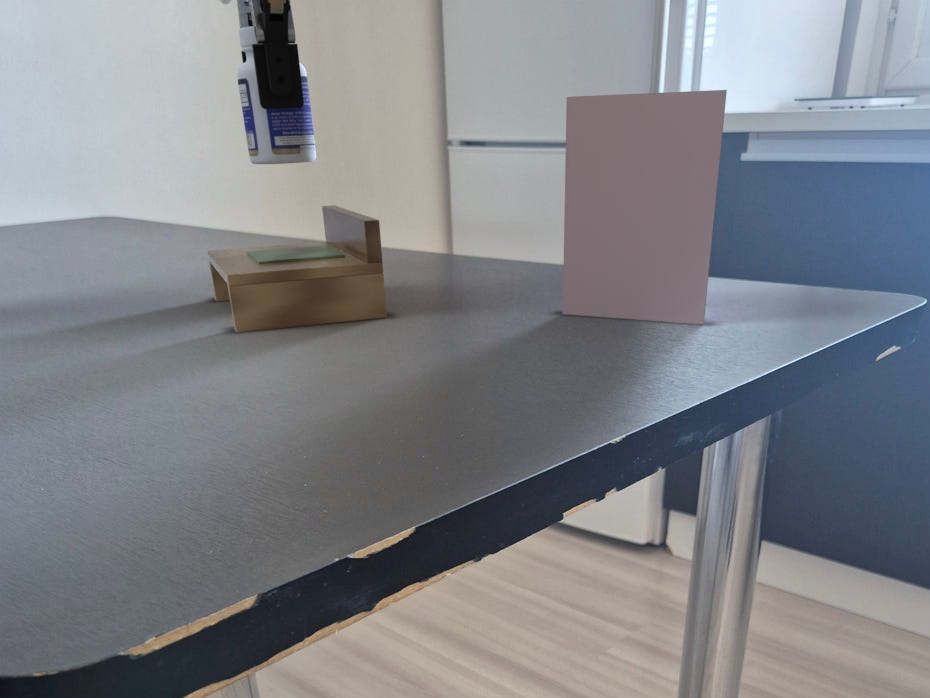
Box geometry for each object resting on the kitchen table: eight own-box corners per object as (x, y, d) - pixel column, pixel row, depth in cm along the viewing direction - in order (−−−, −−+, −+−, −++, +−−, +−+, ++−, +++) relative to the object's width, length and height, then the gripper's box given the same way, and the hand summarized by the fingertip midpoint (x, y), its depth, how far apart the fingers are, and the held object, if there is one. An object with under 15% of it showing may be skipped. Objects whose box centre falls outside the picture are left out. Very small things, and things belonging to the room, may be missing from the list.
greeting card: (712, 326, 65) (737, 89, 57) (630, 338, 62) (644, 91, 55) (625, 303, 74) (636, 95, 66) (549, 313, 71) (551, 97, 64)
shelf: (237, 336, 67) (219, 230, 63) (215, 302, 80) (200, 213, 76) (387, 320, 71) (379, 220, 67) (343, 291, 84) (334, 205, 80)
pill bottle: (327, 160, 71) (313, 28, 67) (299, 164, 67) (282, 23, 62) (269, 162, 73) (251, 32, 68) (237, 165, 68) (216, 27, 64)
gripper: (170, -174, 64) (215, 112, 74) (187, -258, 51) (241, 108, 60) (272, -168, 67) (303, 110, 76) (315, -246, 53) (348, 105, 62)
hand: (275, 106), depth 68 cm, fingers closed on pill bottle, 5 cm apart
